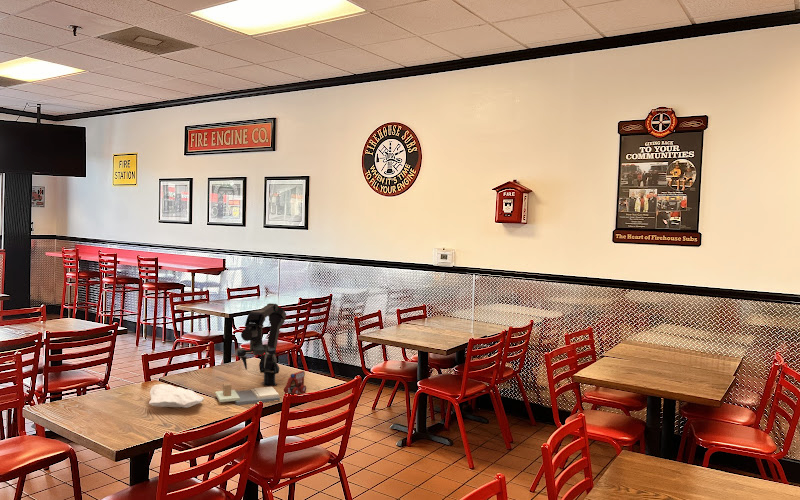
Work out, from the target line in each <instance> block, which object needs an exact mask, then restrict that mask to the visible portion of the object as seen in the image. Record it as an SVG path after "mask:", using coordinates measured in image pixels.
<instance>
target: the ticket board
mask: <svg viewBox="0 0 800 500" xmlns="http://www.w3.org/2000/svg"><path fill="white" fill-rule="evenodd" d="M235 391H236V393H237V394H238V396H239V397H240V400H238V401H233V402H234V403H235V405H236V406H243V405H252V404H258V403H257V402H259V401H262V402H263V403H262V404H264V402H265V403H270V402H269V401H274V400H280V401H281V398H280V394H279V392H278V391H276V389H275V388H274V387H273V386H264V387H262V386H261V387H253V388H251V389H245V390H235Z"/></svg>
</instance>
